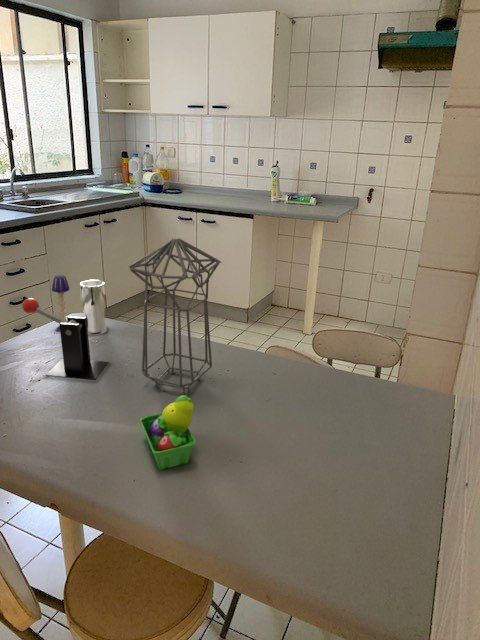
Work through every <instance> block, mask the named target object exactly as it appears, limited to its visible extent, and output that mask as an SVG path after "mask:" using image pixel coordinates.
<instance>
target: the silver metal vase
mask: <svg viewBox="0 0 480 640" xmlns="http://www.w3.org/2000/svg"><path fill="white" fill-rule="evenodd" d="M79 287H80V289H79V294H80V295H79V296H80V304H81V308H82V311H83V315H84V317H87V327H88V335H93V336H100V335H103V334H106V332H107V331H108V328H107V325H106V312H107V311H106V310H107V292H106V285H105V282H104V280H100V279H87V280H84V281H81V282H80V283H79Z"/></svg>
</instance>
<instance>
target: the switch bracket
mask: <svg viewBox="0 0 480 640" xmlns="http://www.w3.org/2000/svg"><path fill="white" fill-rule="evenodd" d="M72 319H73V320H75V321H77V322H79V323H81V324H83V326H82V328H81V331H80V324H75V323H62V322H61V323H60V324H59V323H58V326H60V332H59V333H60V342H61V349H62V351H61V352H62V358H60V359H59V361H58V362H57V363H56V364H55V365H54V366H52V368H51V369H50V370H49V371H47V373H46V374H45V375H44V376H45V377H53V378H54V377H55V378H66V379H76V380H87V381H88V380H89V381H96V380H97V378H98V377H99V376H100V375H101V373H102V372H103V371H104V370H105V369H106V367H107V366H108V365H109V363H110V362H109V361H105V360H104V361H101V360H92V359H91V353H90V352H91V351H90V340H89V339H90V338H89V334H88V327H87V317H85V316H75V315H73V316H72V315H68V316H67V317H66V321H68V322H69V321H71V320H72Z"/></svg>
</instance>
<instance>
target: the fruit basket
mask: <svg viewBox="0 0 480 640" xmlns="http://www.w3.org/2000/svg"><path fill="white" fill-rule="evenodd" d="M185 395H186V394H185ZM185 395H184V394H181V395H179V396H178V397H177V398H176V399H175V400H174V401H173V402H171V403H169V404H168V405H166V406H165V407H164V409H163V411H162V413H157V414H152V415H147V416H143V417H141V418H140V419H139V421H140V424H141V427H142V429H143V431H144V434H145V437H146V441H147V443H148V445H149V447H150V450H151V452H152V454H153V457H154V459H155V462H156V464H157V467H158V469H159V470H164V469H166V468H172V467H176V466H180V465H183V464H188V463H189V460H190V458H191V457H190V456H191V454H192V451H193V448H194V446H195V444H196V439H195V438H194V436H193V435H192V433H191V431H190V429H189V428H190V426H191V424H192V421H193V413H194V409H195V406H194V404H193V402H192V399H191V398H190V397H188V395H186V396H185Z"/></svg>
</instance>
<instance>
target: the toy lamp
mask: <svg viewBox="0 0 480 640" xmlns="http://www.w3.org/2000/svg"><path fill="white" fill-rule="evenodd" d="M51 291H52V292H54V293H57V300H58V302H57V303H58V315H59V317H60V318H62V319H64V320H66V321H67V317H66V314H67V312H66V306H65V305H66V301H65V299H66V298H65V293H66V292H69V291H70V286H69V283H68V279H67V277H66V275H63V274H57V275H55V276H53V281H52V286H51ZM55 332H57V333H60V325H58V326H57V327H56V329H55Z"/></svg>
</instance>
